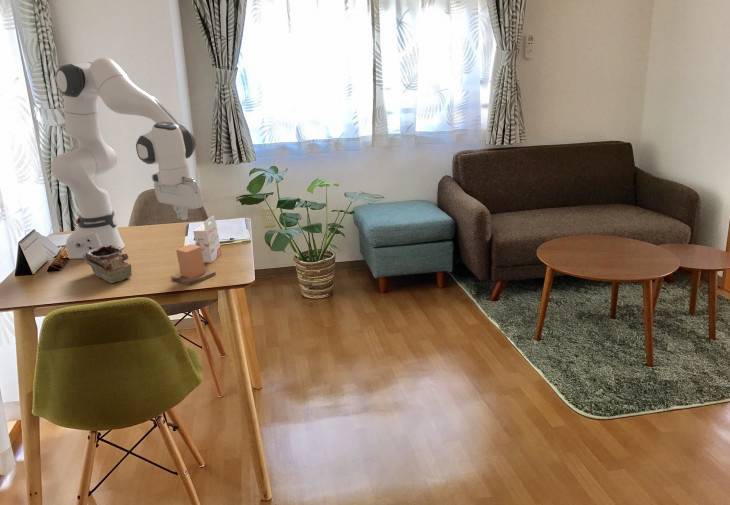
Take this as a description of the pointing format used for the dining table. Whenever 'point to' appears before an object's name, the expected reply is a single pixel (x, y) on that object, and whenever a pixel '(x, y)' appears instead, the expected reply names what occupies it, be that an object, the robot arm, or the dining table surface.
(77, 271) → the dining table surface
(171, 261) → the dining table surface
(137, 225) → the dining table surface
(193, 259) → the salmon pink toy brick
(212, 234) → the ink cartridge box
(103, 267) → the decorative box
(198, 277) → the post stand
